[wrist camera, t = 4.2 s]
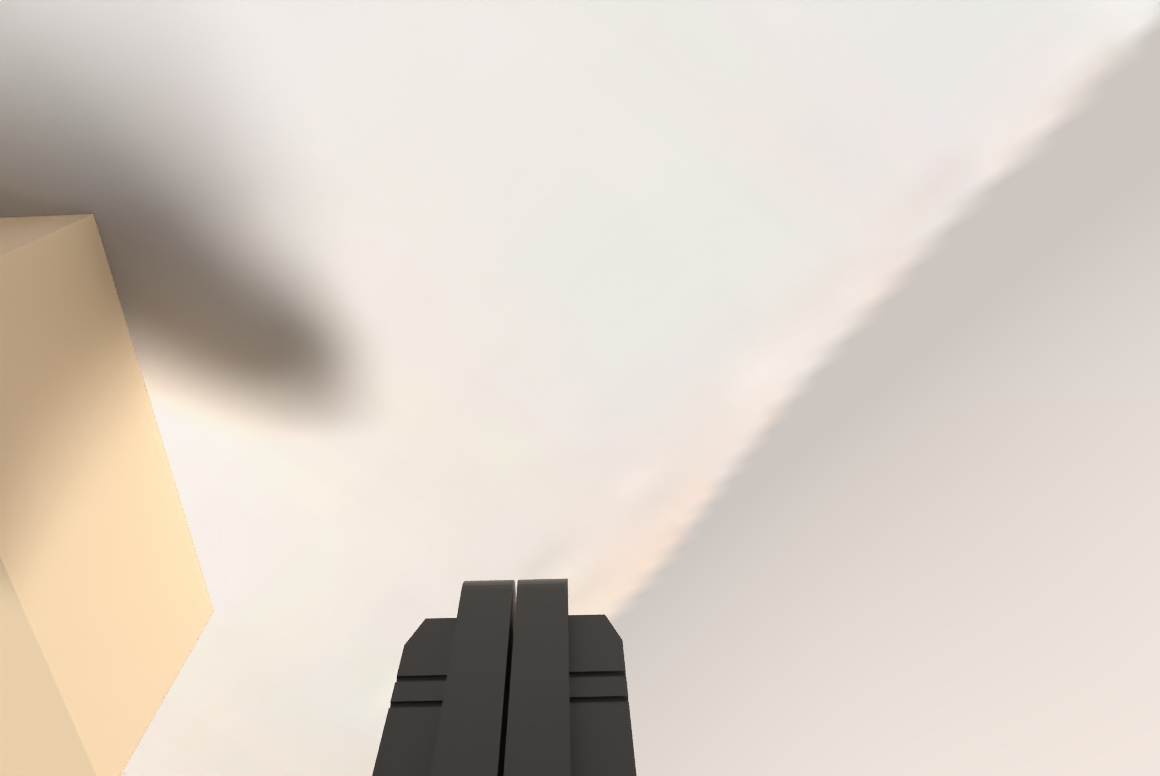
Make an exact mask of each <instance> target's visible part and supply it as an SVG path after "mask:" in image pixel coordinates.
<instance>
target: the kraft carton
mask: <svg viewBox="0 0 1160 776" xmlns="http://www.w3.org/2000/svg"><path fill="white" fill-rule="evenodd" d="M213 612H214V609H213V606H212V603H211V600H210V596H209V593H208V590H207V586H206V583H205V580H204V577H203V573H202V570H201V567H200V563H199V560H198V557H197V553H196V550H195V547H194V544H193V540H192V537H191V534H190V530H189V527H188V524H187V521H186V517H185V514H184V511H183V507H182V504H181V501H180V497H179V494H178V491H177V488H176V484H175V481H174V478H173V474H172V471H171V468H170V465H169V461H168V458H167V455H166V451H165V448H164V445H163V441H162V438H161V435H160V432H159V428H158V425H157V422H156V418H155V415H154V412H153V409H152V405H151V402H150V399H149V395H148V392H147V389H146V385H145V382H144V379H143V376H142V372H141V369H140V366H139V362H138V359H137V356H136V353H135V349H134V346H133V343H132V339H131V336H130V333H129V329H128V326H127V323H126V320H125V316H124V313H123V310H122V306H121V303H120V300H119V297H118V293H117V290H116V287H115V283H114V280H113V277H112V273H111V270H110V267H109V264H108V260H107V257H106V254H105V250H104V247H103V244H102V241H101V237H100V234H99V231H98V227H97V224H96V221H95V217H94V214H78V215H52V216H26V217H0V776H120V775H121V774H122V772H123V770H124V768H125V767H126V765H127V763H128V761H129V760H130V758H131V756H132V754H133V753H134V751H135V749H136V747H137V746H138V744H139V742H140V740H141V738H142V737H143V735H144V733H145V731H146V730H147V728H148V726H149V724H150V723H151V721H152V719H153V717H154V716H155V714H156V712H157V710H158V709H159V707H160V705H161V703H162V701H163V700H164V698H165V696H166V694H167V693H168V691H169V689H170V687H171V686H172V684H173V682H174V680H175V679H176V677H177V675H178V673H179V672H180V670H181V668H182V666H183V665H184V663H185V661H186V659H187V657H188V656H189V654H190V652H191V650H192V649H193V647H194V645H195V643H196V642H197V640H198V638H199V636H200V635H201V633H202V631H203V629H204V628H205V626H206V624H207V622H208V621H209V619H210V617H211V615H212V613H213Z"/></svg>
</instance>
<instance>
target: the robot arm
mask: <svg viewBox="0 0 1160 776" xmlns="http://www.w3.org/2000/svg"><path fill="white" fill-rule="evenodd" d="M625 675H626V674H625V662H624V653H623V642H622V639H621V638H620V636H619V635H618V633H617V632H616V630H615V629H614V627H613V626H612V624H611V623H610V621H609V620H608V618H607V617H606V616H605V615H568V579H534V580H518V584H517V597H516V591H515V581H514V580H495V581H464V583H463V586H462V591H461V597H460V602H459V608H458V614H457V618H433V619H425V620H424V622H423V623H422V624H421V625H420V627H419V628H418V629H417V630H416V632H415V633H414V634H413V635H412V637H411V638H410V639H409V640H408V642H407V643H406V644H405V645H404V649H403V653H402V657H401V661H400V665H399V669H398V673H397V682H395V686H394V690H393V694H392V698H391V706H390V708H389V710H388V714H387V718H386V722H385V726H384V730H383V734H382V738H381V742H380V746H379V751H378V755H377V759H376V763H375V767H374V771H373V775H372V776H636V769H635V759H634V748H633V739H632V729H631V720H630V710H629V702H628V691H627V681H626V676H625Z"/></svg>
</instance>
